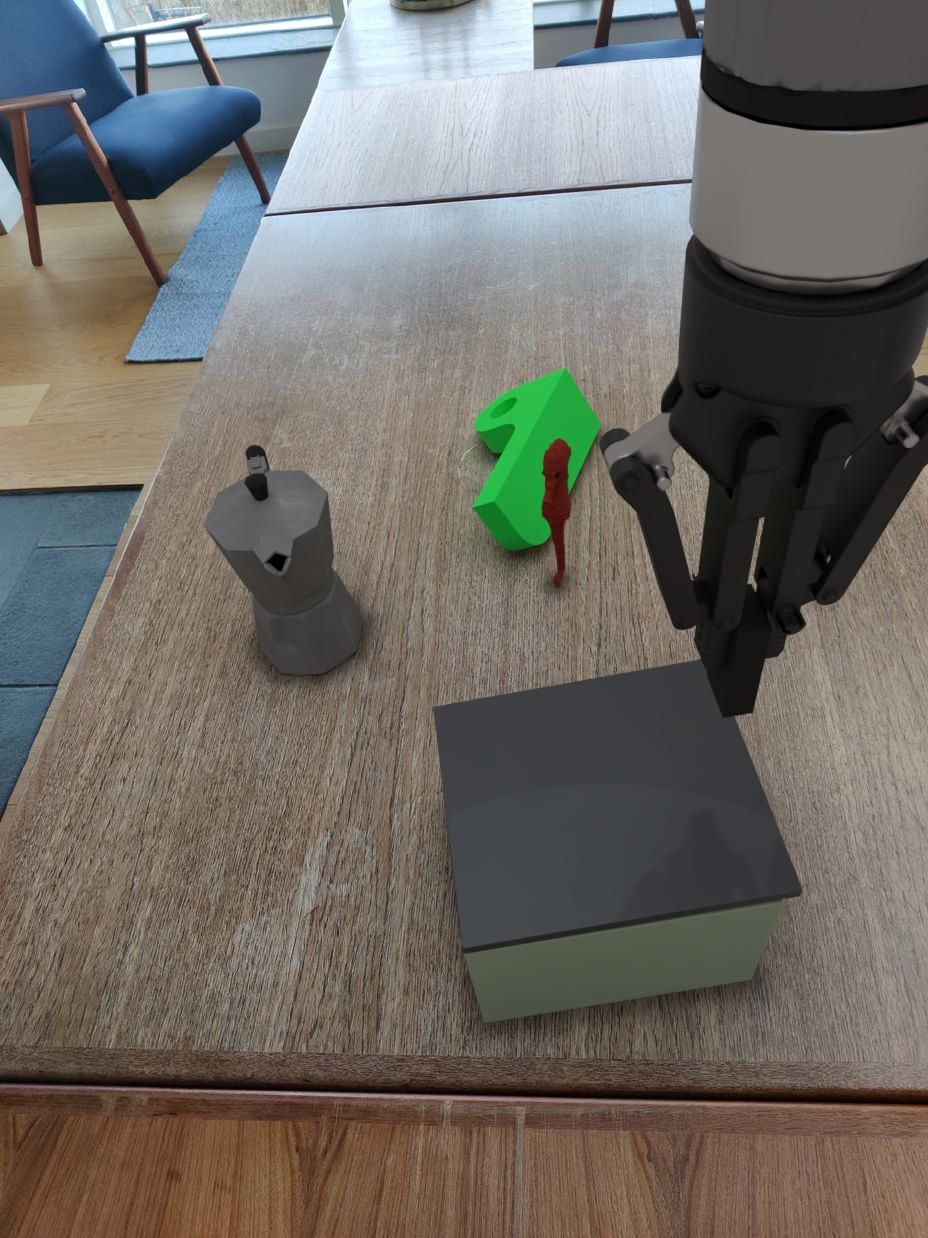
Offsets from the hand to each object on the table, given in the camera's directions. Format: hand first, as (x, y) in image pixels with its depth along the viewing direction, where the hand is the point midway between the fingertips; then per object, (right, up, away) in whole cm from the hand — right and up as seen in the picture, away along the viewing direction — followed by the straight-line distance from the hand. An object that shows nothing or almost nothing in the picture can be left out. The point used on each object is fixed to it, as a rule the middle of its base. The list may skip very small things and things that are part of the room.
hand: (729, 693), depth 44 cm
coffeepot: (-27, +3, +34) cm, 43 cm away
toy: (-5, +7, +34) cm, 35 cm away
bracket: (-8, +17, +43) cm, 47 cm away
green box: (-5, -14, +16) cm, 22 cm away
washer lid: (-6, -6, +6) cm, 11 cm away
